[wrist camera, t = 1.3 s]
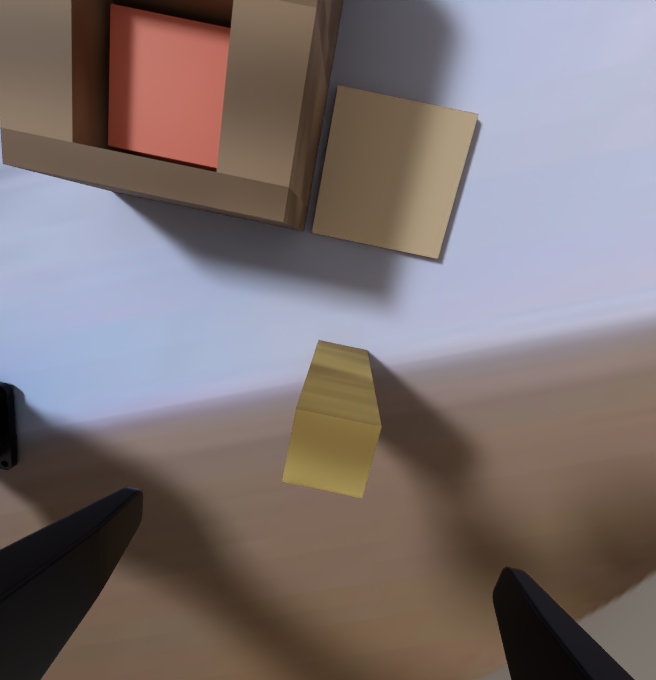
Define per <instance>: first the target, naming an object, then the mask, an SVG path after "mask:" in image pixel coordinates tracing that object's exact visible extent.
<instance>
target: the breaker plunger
mask: <svg viewBox="0 0 656 680" xmlns="http://www.w3.org/2000/svg"><path fill="white" fill-rule="evenodd" d="M230 30H231V28H227V27H222V26H218V25H213V24H208V23H203V22H198V21H193V20H188V19H183V18H179V17H174V16H169V15H164V14H159V13H154V12H149V11H144V10H139V9H135V8H130V7H125V6H120V5H115V4H111V5H110V63H109V120H108V146H110V147H113V148H115V149H117V150H120V151H122V152H124V153H126V154H131V155H136V156H141V157H146V158H151V159H155V160H160V161H165V162H170V163H175V164H179V165H184V166H189V167H194V168H199V169H204V170H208V171H213V172H217V162H218V152H219V142H220V132H221V121H222V111H223V101H224V91H225V81H226V71H227V61H228V51H229V40H230Z"/></svg>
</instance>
